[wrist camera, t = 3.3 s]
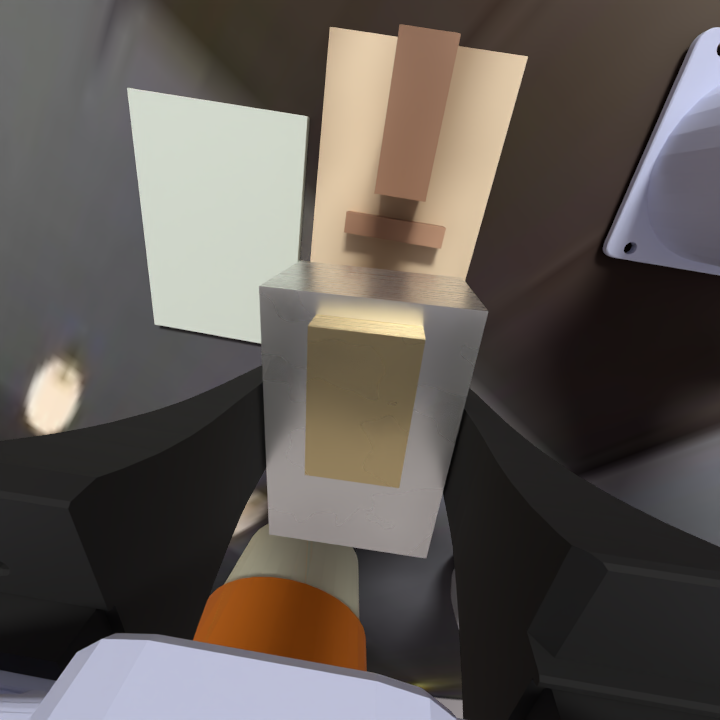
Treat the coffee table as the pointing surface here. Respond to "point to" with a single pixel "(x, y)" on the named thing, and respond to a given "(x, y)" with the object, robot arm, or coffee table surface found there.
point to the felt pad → (216, 207)
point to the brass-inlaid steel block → (363, 400)
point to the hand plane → (409, 148)
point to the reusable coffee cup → (290, 603)
